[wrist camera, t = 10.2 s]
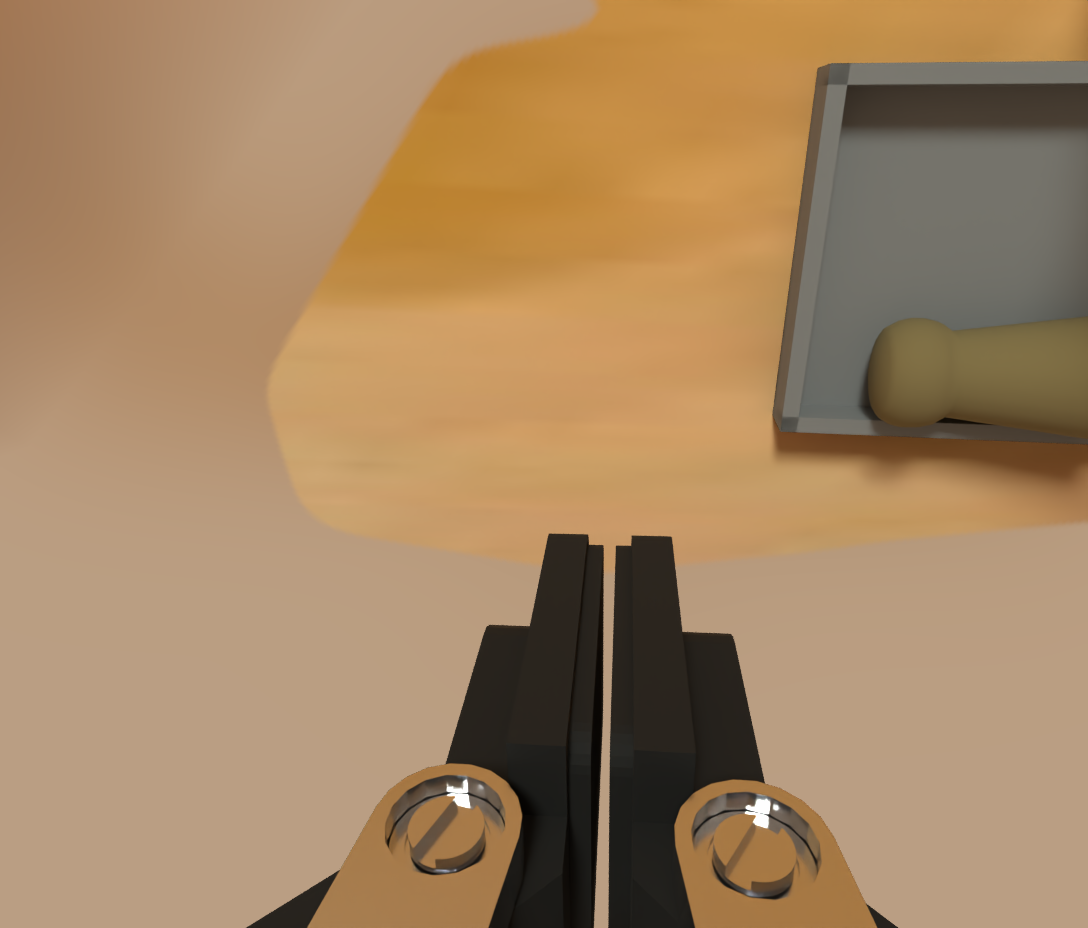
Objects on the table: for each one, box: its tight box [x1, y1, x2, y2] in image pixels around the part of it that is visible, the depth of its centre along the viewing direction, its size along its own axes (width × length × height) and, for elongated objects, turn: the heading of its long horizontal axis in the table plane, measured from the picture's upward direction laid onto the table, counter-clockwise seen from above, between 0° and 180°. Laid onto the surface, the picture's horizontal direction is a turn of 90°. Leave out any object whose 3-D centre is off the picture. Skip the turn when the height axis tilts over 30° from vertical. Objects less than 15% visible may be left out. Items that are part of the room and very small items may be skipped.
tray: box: [772, 61, 1088, 444], centre depth 35 cm, size 24×17×2 cm
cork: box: [868, 316, 1088, 439], centre depth 35 cm, size 6×6×11 cm
